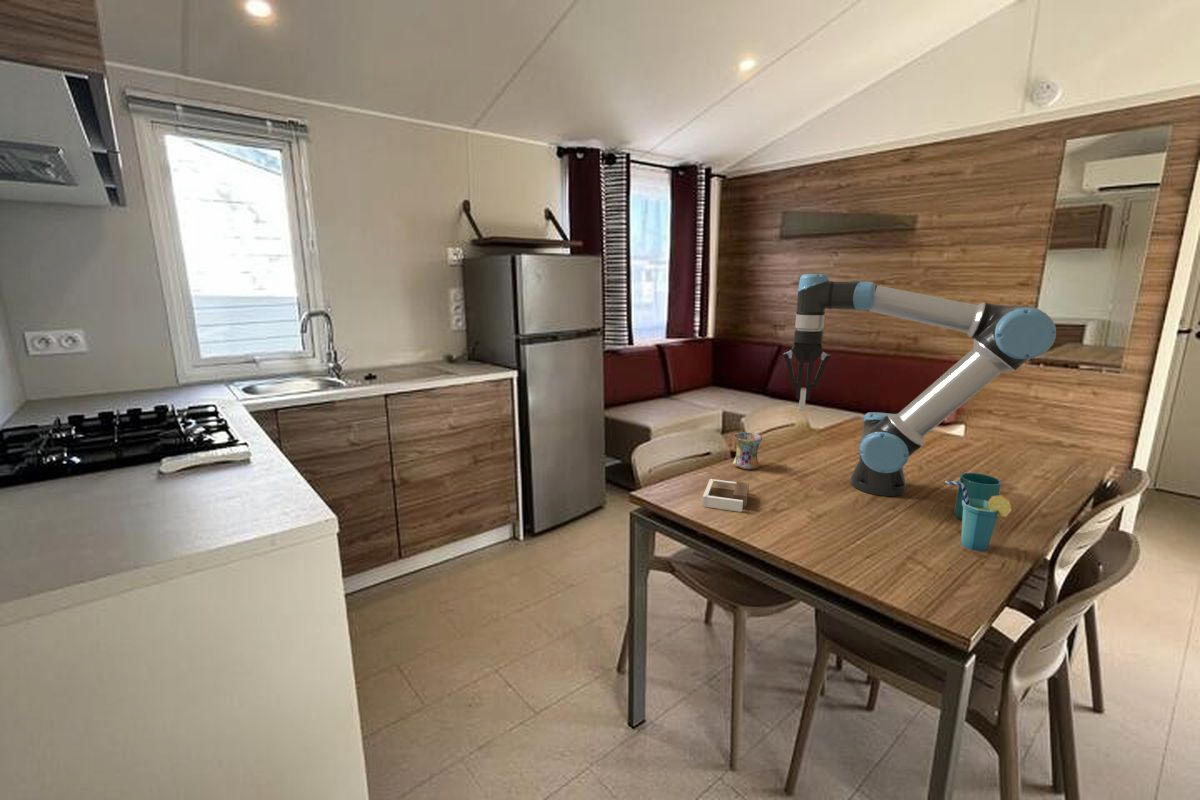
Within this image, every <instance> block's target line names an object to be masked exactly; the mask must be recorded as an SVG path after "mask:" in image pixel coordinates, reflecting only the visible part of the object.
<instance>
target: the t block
mask: <svg viewBox="0 0 1200 800" xmlns="http://www.w3.org/2000/svg"><path fill="white" fill-rule="evenodd" d="M736 482H737V483H736V486H735V485H727V484H719V483H712V486H711V496H716V497H723V498H731V499H738V500H743V508H742V510H743V511H744V510H746V508H747V504H748V500H749V499H748V498H749V491H750V490H749V489H750V483H749V482H741V481H736Z"/></svg>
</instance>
